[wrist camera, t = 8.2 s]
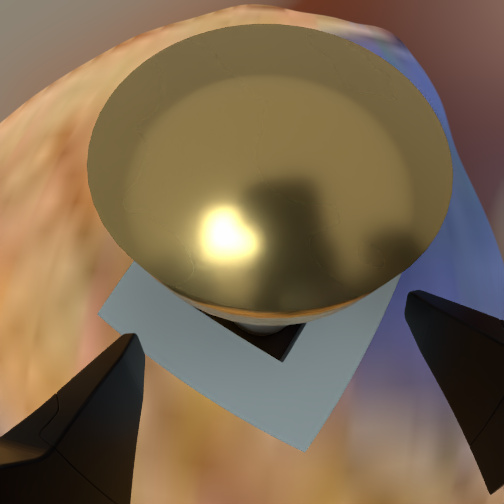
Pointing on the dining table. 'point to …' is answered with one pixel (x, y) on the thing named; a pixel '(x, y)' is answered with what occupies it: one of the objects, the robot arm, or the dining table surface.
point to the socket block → (250, 355)
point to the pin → (270, 173)
